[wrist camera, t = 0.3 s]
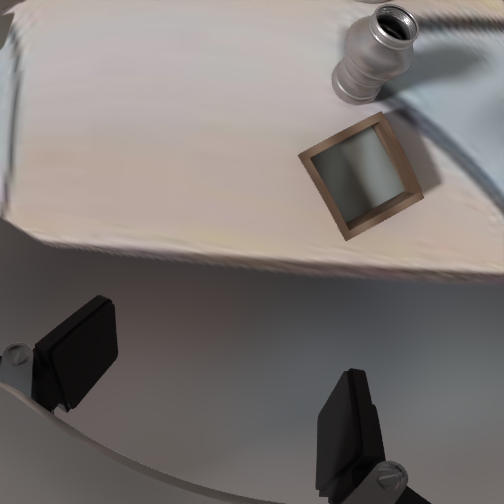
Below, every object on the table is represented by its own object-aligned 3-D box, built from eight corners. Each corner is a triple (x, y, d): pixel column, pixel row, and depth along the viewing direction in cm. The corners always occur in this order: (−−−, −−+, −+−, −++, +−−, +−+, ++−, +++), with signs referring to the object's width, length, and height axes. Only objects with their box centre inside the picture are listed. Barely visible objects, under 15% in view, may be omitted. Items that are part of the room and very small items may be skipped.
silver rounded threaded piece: (322, 95, 33) (342, 32, 14) (339, 57, 30) (367, -22, 11) (365, 116, 32) (425, 76, 14) (381, 78, 30) (442, 18, 11)
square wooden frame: (372, 116, 32) (381, 111, 28) (411, 193, 34) (424, 197, 30) (298, 156, 36) (297, 155, 32) (340, 232, 38) (345, 241, 34)
